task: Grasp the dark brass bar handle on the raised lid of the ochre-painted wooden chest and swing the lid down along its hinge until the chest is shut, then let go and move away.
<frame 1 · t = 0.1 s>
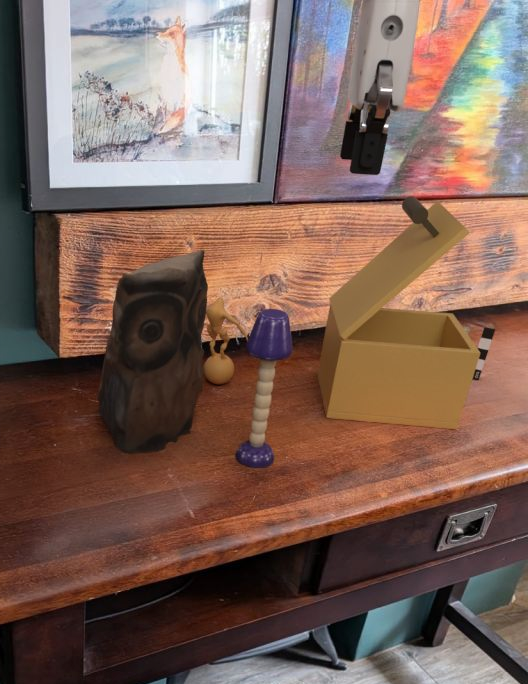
hand: (358, 166, 84), 27 cm above the table, tool pointing down, fingers open, 9 cm apart
owl: (142, 425, 88), on the table
toy lamp: (252, 461, 82), on the table
chest: (382, 400, 97), on the table
figurine: (213, 386, 99), on the table
lid: (381, 257, 87), point 18 cm above the table, hinge at 50.0°
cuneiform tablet: (437, 366, 108), on the table
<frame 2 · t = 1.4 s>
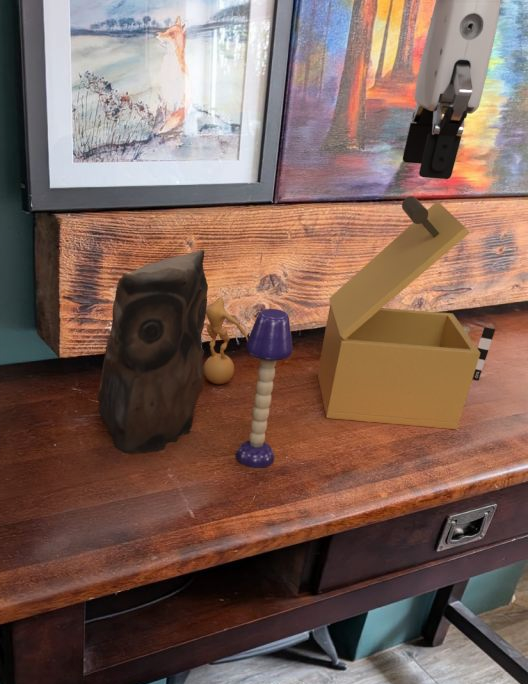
hand: (424, 169, 82), 28 cm above the table, tool pointing down, fingers open, 9 cm apart
nothing on the table moved.
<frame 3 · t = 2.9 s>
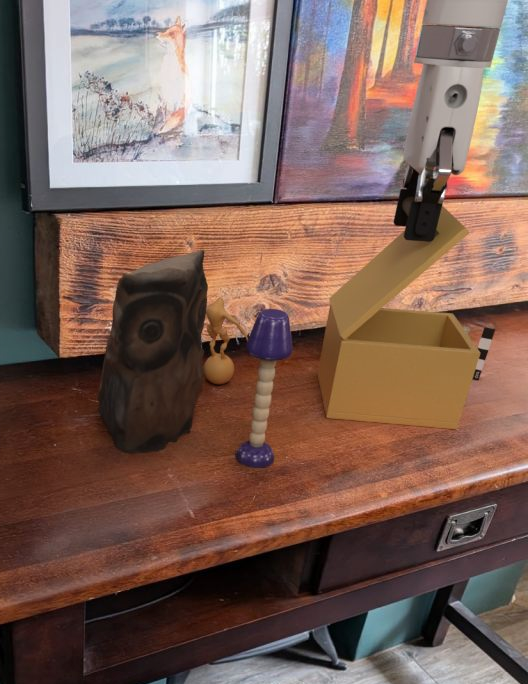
hand: (412, 231, 85), 21 cm above the table, tool pointing down, fingers closed on lid, 6 cm apart
lid: (381, 257, 87), point 18 cm above the table, hinge at 50.0°, touching gripper
everything else where it was.
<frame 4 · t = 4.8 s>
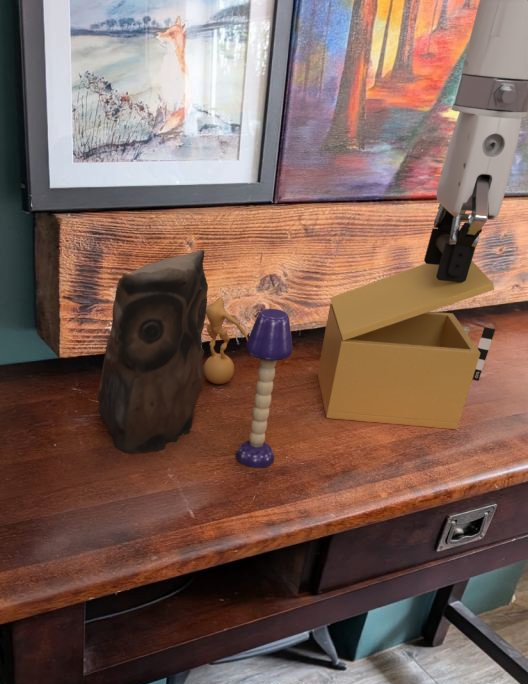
hand: (443, 270, 87), 17 cm above the table, tool pointing down, fingers closed on lid, 6 cm apart
lid: (401, 278, 88), point 16 cm above the table, hinge at 25.4°, touching gripper
everything else where it was.
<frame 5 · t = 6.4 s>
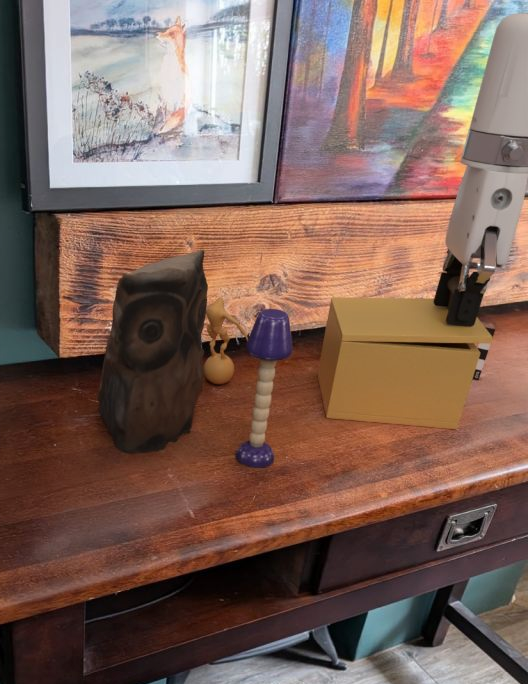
hand: (452, 313, 90), 12 cm above the table, tool pointing down, fingers closed on lid, 6 cm apart
lid: (408, 302, 90), point 13 cm above the table, hinge at 3.9°, touching gripper
everything else where it was.
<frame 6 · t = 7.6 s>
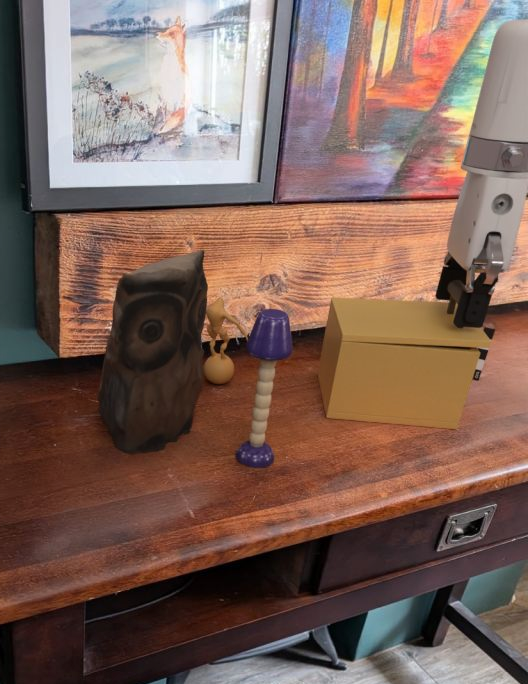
hand: (457, 312, 90), 12 cm above the table, tool pointing down, fingers open, 9 cm apart
lid: (408, 304, 90), point 13 cm above the table, hinge at 2.0°
everything else where it was.
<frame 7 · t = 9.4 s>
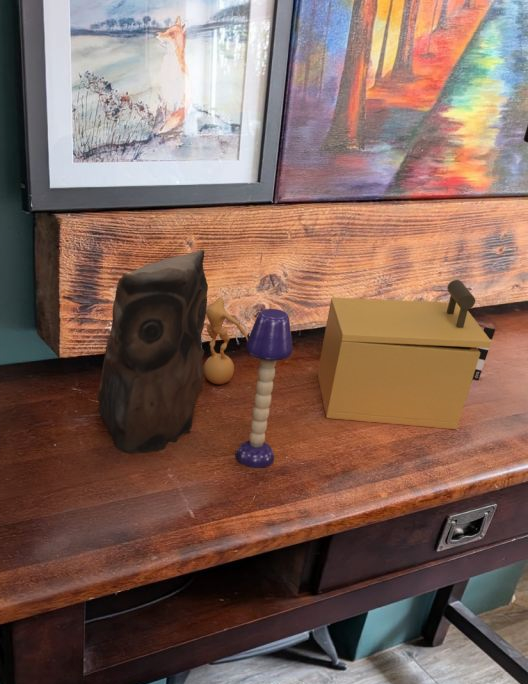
nothing on the table moved.
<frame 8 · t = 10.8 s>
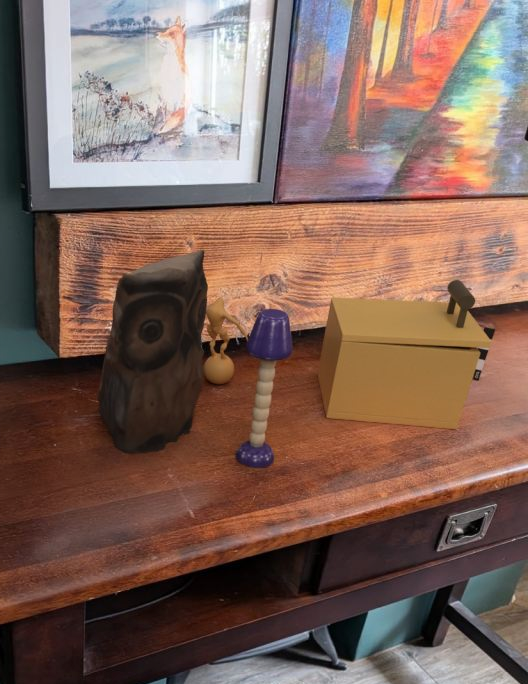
nothing on the table moved.
at the end: lid at +2° (first picture: +50°); the gripper is holding nothing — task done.
